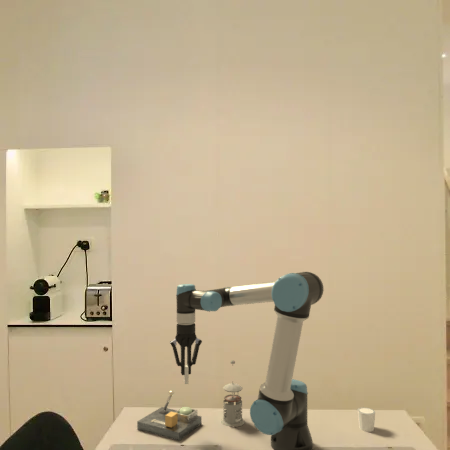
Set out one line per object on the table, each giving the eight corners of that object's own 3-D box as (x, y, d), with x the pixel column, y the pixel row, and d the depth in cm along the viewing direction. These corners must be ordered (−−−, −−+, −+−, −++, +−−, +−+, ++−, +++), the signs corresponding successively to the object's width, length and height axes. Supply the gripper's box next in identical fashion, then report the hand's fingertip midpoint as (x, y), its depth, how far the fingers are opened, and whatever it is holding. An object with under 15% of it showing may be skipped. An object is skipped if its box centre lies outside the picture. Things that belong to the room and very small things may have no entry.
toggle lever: (168, 411, 169) (176, 392, 167) (164, 413, 167) (172, 393, 165) (163, 407, 170) (171, 388, 168) (160, 409, 168) (168, 390, 166)
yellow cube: (177, 423, 157) (177, 413, 157) (171, 427, 154) (171, 416, 154) (171, 421, 158) (171, 411, 159) (165, 425, 155) (165, 415, 155)
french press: (218, 425, 163) (218, 362, 164) (225, 413, 174) (225, 355, 175) (242, 428, 160) (242, 364, 162) (247, 415, 172) (247, 356, 173)
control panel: (201, 423, 164) (201, 410, 164) (178, 440, 150) (179, 425, 150) (161, 413, 173) (162, 401, 174) (137, 429, 159) (137, 414, 160)
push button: (194, 415, 164) (194, 408, 164) (187, 420, 160) (187, 413, 160) (184, 413, 166) (184, 406, 167) (177, 418, 162) (177, 410, 162)
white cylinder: (356, 430, 159) (355, 412, 159) (358, 423, 165) (358, 405, 165) (374, 433, 156) (374, 415, 156) (376, 426, 162) (376, 409, 162)
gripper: (199, 320, 167) (199, 378, 166) (168, 322, 163) (168, 381, 162) (203, 323, 160) (204, 384, 159) (171, 325, 156) (171, 387, 155)
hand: (186, 382), depth 160 cm, fingers closed
